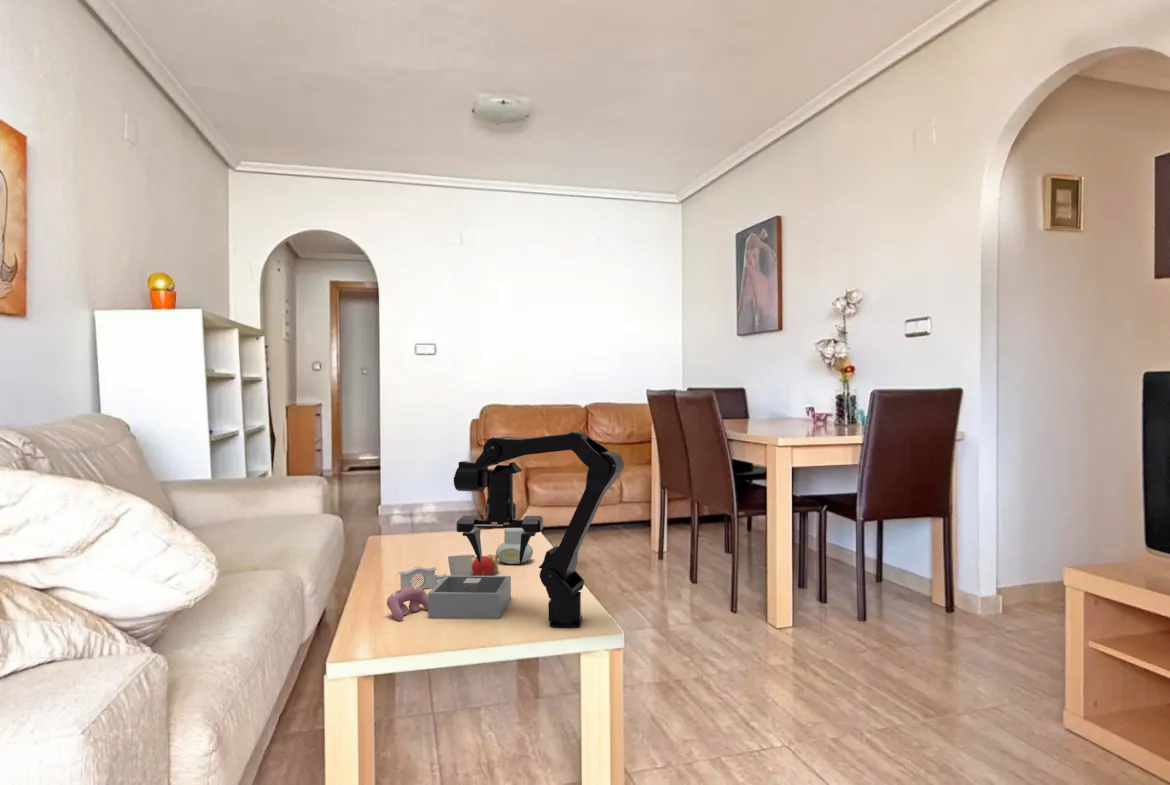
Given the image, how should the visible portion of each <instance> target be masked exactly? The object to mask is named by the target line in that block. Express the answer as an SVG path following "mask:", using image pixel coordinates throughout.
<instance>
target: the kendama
mask: <svg viewBox="0 0 1170 785" xmlns="http://www.w3.org/2000/svg"><path fill="white" fill-rule="evenodd" d="M470 565H471V571H472V574H473V576H493V573H494V572H498V571H499V559H498V558H497V556H496V554H488V555H486V556H485V555H482V562H481V563H479V561H478V559H477V556H473V557H471V560H470Z"/></svg>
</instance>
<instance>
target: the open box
mask: <svg viewBox="0 0 1170 785" xmlns="http://www.w3.org/2000/svg"><path fill="white" fill-rule="evenodd" d="M511 577H512V576H511V575H491V576H475V575H446V576H445V577H444V578H443V579H440V580H441V581H438V582H439V583H438V582H437V583H438V584H437V585H436V586H435V587H434V588H431V590H429V592H428V593H427V595H428V610H427V614H428V615H427V618H428V619H461V620H462V619H463V620H464V619H468V620H469V619H471V620H474V619H477V620H478V619H479V620H481V619H482V620H500V619H501V617H502V615H503V614H504V612H505V610H506V608H507V606H508V604H509V603H510V601H511V598H512V585H511V584H512V583H511V581H512V580H511V579H512V578H511ZM467 578H482V593H477V592H463V582H464V581H465V580H466V579H467Z"/></svg>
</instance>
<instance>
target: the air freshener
mask: <svg viewBox="0 0 1170 785" xmlns="http://www.w3.org/2000/svg"><path fill="white" fill-rule="evenodd" d="M523 531H524V530H523V529H522V528H504V533H503V534H504V539H503V540H504V542H503V543H501V544H499V545H498V547H497V548H496V550H495V555H496V556H497V559H498V561H500V562H502V563H503V564H506V563H507V564H506V565H509V564H517V565H520V558H519V556H520V543H521V534H522V532H523ZM533 553H534V549H533V547H532V546H531V545H530V544H529V543H528V544H527V548H526V551H525V554H524V558H523V561H522V563H521V564H524V563H526V562H527V561H529V560H530V559H531V558H532V556H533Z"/></svg>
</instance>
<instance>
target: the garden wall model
mask: <svg viewBox="0 0 1170 785" xmlns="http://www.w3.org/2000/svg"><path fill="white" fill-rule="evenodd" d="M435 571H437V569H436V566H431V567H429V568H426V567H422V566H414V567H413V568H411V569H410V570H407V571H403V570H402V571H399V573H398V574H399V575H400V576H399V577H400V590H401V589H403V588H407V587H420V588H421V589H423V590H425V589H426V590H427V589H433V588H434V587H435V586H436V585H437V584H438V583H439V582H440V581H441V580H442V579H443V578H444V577H445V576H447V573H443V574H436V572H435Z"/></svg>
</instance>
